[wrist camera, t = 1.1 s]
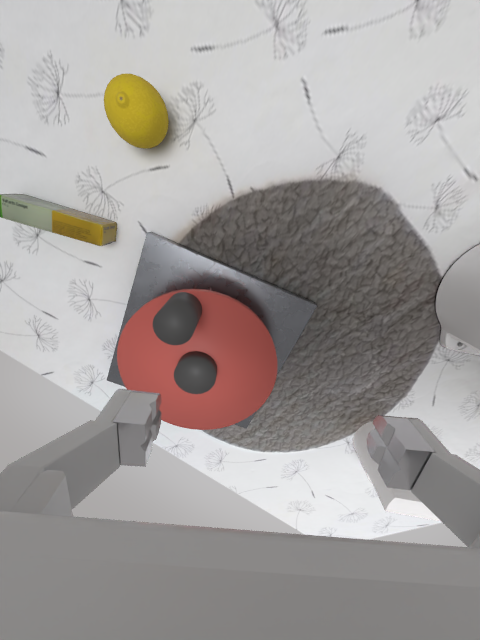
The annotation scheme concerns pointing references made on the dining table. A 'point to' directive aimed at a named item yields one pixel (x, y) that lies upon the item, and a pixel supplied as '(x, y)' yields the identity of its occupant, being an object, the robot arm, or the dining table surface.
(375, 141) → the dining table surface
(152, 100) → the lemon
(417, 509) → the base with upright slab
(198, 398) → the handwheel
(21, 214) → the medication box
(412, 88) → the dining table surface
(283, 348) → the valve stand
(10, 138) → the dining table surface
